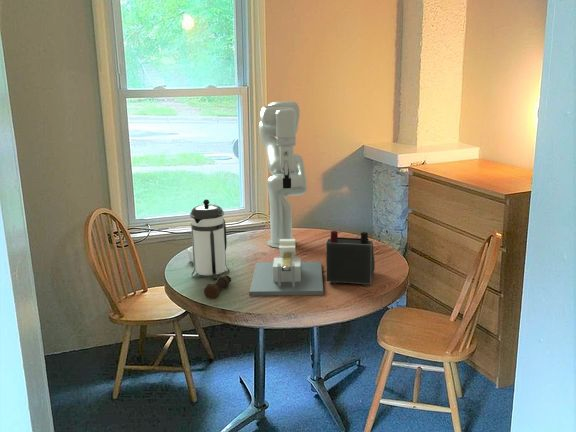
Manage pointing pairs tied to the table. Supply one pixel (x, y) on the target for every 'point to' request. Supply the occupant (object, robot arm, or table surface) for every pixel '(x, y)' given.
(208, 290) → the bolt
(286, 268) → the wooden building block
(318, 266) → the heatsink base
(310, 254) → the table surface
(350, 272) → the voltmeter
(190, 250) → the teacup
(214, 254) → the coffee press
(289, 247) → the block
